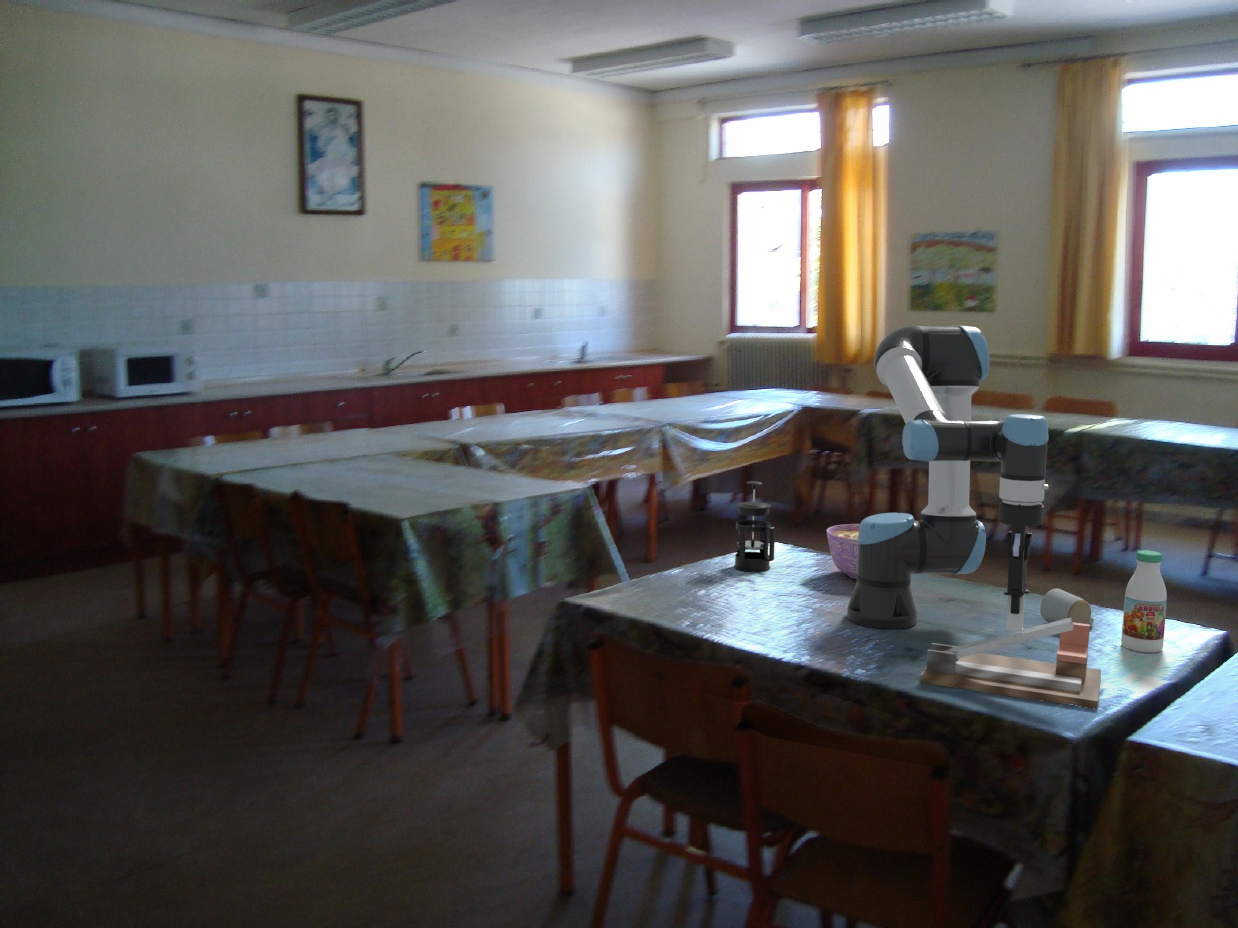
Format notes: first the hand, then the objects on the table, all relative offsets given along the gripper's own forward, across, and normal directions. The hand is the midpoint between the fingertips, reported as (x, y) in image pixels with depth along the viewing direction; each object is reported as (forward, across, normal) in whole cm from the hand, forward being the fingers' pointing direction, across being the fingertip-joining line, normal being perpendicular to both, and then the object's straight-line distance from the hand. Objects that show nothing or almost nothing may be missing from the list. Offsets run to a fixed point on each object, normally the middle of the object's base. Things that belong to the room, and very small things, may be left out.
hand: (1014, 629), depth 197 cm
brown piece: (+11, +4, 0) cm, 12 cm away
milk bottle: (+11, +36, -22) cm, 44 cm away
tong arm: (+3, 0, +1) cm, 3 cm away
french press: (+10, +63, +70) cm, 95 cm away
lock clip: (+6, +8, -10) cm, 14 cm away
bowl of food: (+10, +68, +42) cm, 81 cm away
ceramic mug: (+11, +46, -7) cm, 48 cm away
